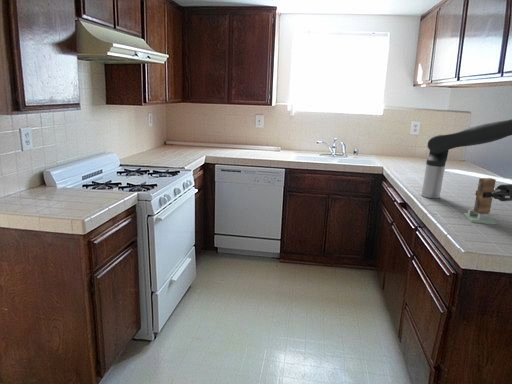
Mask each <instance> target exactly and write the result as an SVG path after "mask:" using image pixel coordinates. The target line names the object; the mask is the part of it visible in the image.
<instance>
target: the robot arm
mask: <svg viewBox="0 0 512 384" xmlns="http://www.w3.org/2000/svg"><path fill="white" fill-rule="evenodd" d="M510 136H512V118H511V119H507V120H501V121H494V122H488V123H484V124H480V125H476V126H472V127H469V128H465V129H462V130H460V131H457V132H453V133H447V134H436V135H433V136H432V137H430V139H428V141H427V142H428V143H427V148H428V150H429V153H428V157H427V159H426V162H425V163H426V165H425V169H424V177H423V182H422V190H421V196H422V197H423V198H424V197H425V198H428V199H440V198H441V191H442V187H443V180H444V175H445V167H446V163H447V160H448V156H449V151H450V150H452V149H455V148H460V147H461V148H462V147H471V146H477V145H483V144H490V143H492V142H496V141H499V140H502V139H504V138H507V137H510ZM476 195H477V190H476V191H475V196H476ZM482 197H483V198H489V197H490V198H492V199H495V200H499V201H500V202H512V183H510V184H508V183H507V184H499V185H498V186H497V187H494V192H491V193H490V192H484V193H483V195H482Z"/></svg>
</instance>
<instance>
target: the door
mask: <svg viewBox="0 0 512 384" xmlns="http://www.w3.org/2000/svg"><path fill="white" fill-rule="evenodd" d="M496 181H497V180H496V178H491V177H483V178H481V177H480V178H479V179H478V185H477V188H476V189H477V190H476V191H477V195H475V197H476V198H475V200H474V201H475V202H474V206H473V207H474V208H473V210H474V212H477V213H491V207H492V203H493V198H490V197H489V198H483V197H482V195H483V193H484V192H490V193H491V192H494V188H496V186H495V185H496Z"/></svg>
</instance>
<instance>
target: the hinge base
mask: <svg viewBox="0 0 512 384" xmlns="http://www.w3.org/2000/svg"><path fill="white" fill-rule="evenodd" d="M464 216H465V218H466V219H468V221H469V222H470V223H476V224H485V225H486V224H487V225H497V223H498V222H497V221H496V220H495V219H494V218H495V213H494V212H490V213H477V212H474V209H468V210H467V212H464Z"/></svg>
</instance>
